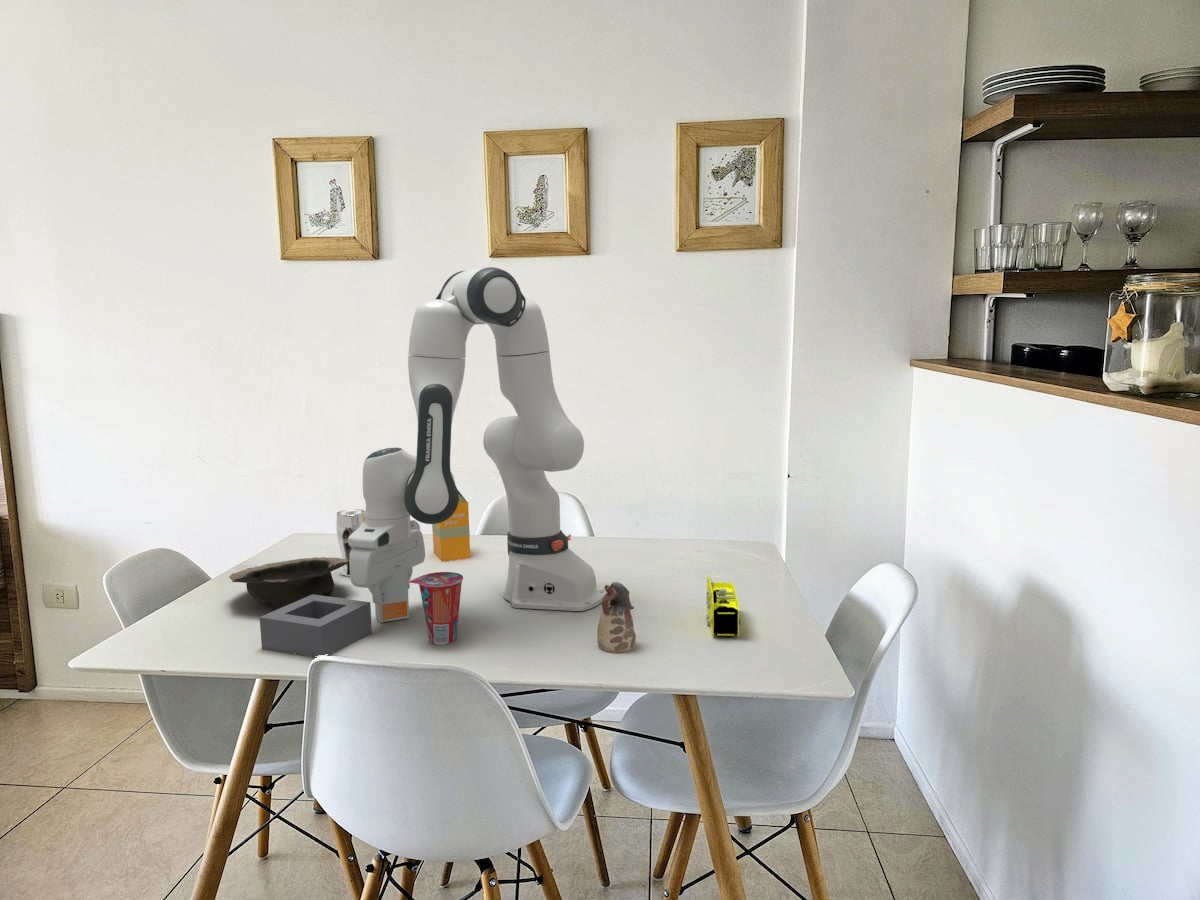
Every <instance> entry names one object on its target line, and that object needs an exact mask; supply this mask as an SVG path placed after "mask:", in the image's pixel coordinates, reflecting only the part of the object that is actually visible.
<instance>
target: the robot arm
mask: <svg viewBox="0 0 1200 900" xmlns="http://www.w3.org/2000/svg"><path fill="white" fill-rule="evenodd" d="M412 319H413V320H412V324H411V329H410V335H409V343H408V358H407V359H408V360H407V365H408V367H407V368H408V379H409V386H410V392H411V395H412V400H413V403H414V407H415V411H416V417H417V440H416V442H417V444H416V456H415V455H412V454H411V453H409V452H407V451H406V450H404V449H403V448H402V447H388V448H383V449H379V450H376V451H373V452H372V453H370V454H369V455H368V456H367V457H366V458H365V460H364V461H363V466H362V494H363V499H364V501H365V510H364V511H365V514H364V517H365V522H363V523H362V524H361V526H360V527H359V528H358V529H357V530H356V531H355V532H353V533H352V534H351V535H350V536H349V538H348V544H349V546H351V547H353V548H352V550H351V552H350V556H349V566H350V582H351V584H352V585H353V586H354V587H356V588H363V589H367V588H368V590H369V592H370V593H371V595H372V603H373V604H375V603H376V604H380V603H382V602H383V601H384V600H385V598H384V593H381V591H380V589H379V587H381V581H383V580H386V579H388V578H390V577H392V576H394V573H395V570H394V563H396V562H398V561H400V560H403V559H405V560H406V561H407V574H408V590H410V587H411V585H410V584H411V583H409V582H410V581H411V577H412V575H413V572H414V571H413V567H416V566H417V565H420V564H422V563H423V562H424V561H425V558H426V548H425V541H424V536H423V535H424V534H423V533H422V531H421V526H420V524H419V523H421V524H426V525H432V524H437V523H441V522H443V521H445V520H447V519H448V518H450V517H451V516H452V515H453V513H454V512H455V510H456V508H457V506H458V502H459V495H458V491H459V489H458V488H457V486H456V481H455V477H454V475H453V473H452V470H451V469H452V468H451V446H452V443H451V442H452V427H453V426H452V423H453V419H454V415H455V411H456V407H457V404H458V400H459V398H460V394H461V390H462V386H463V383H464V375H465V369H466V351H467V349H466V348H467V347H466V346H467V345H466V344H467V341H468V340H467V339H468V336H469V333H470V331H471V330H472V328H473V327H474V326H475V325H485V324H486V325H487V326H488V327H489V328H490V330H491V331H492V335H493V337H494V340H495V342H494V343H495V353H496V354H495V355H496V362H497V363H496V364H497V371H498V381H499V387H500V388H499V389H500V391H501V393H502V396H503V397H504V398H505V399H506V400H508V401H509V402H510V404H511V405H512V407H513V409H514V411H515V413H516V415H508V416H502V417H499V418H496V419H493V420H492V421H490V423H488V425H487V426H486V428H485V429H484V433H483V436H482V437H483V439H482V441H483V443H482V444H483V448H484V451H485V453H486V455H487V456H488V457H489V458H490V459H491V460H492V461H493V463H494V464H495V466H496V468H497V471H498V472H499V475H500V477H501V481H502V483H503V486H504V490H505V495H506V499H507V510H508V512H507V514H508V532H507V533H506V534H507V538H506V539H507V554H508V558H509V559H508V568H507V569H508V570H507V577H506V584H505V589H504V592H503V598H504V599H505V600H507V602H510V603H511V606H512V607H513V608H514V609H516V608H517V609H531V610H533V609H534V610H551V611H565V612H566V611H567V612H583V611H587V610H589V609H593V608H594V607H597V606H598V605H600V604H602V601H603V598H604V596H605V595H606V594H607V592H606V590H605V589H604V587H602V586H597V578H596V575H595V571H594V569H593V567H592V566H591V565H590V564H589V563H588V562H586V561H584V559H582V558H581V557H580V556H579V555H577V553H575V552H574V551H572V549H570V548H569V541H571V540H572V538H571V537H572V534H568V535H566V534H565V533H564V532H563V531H562V529H561V507H560V506H561V504H560V503H561V502H560V495H559V494H558V491H557V490H556V489H555V488H554V486H552V485H551V484H550V482H549V481H548V478H547V476H546V474H545V472H547V473H548V472H550V473H553V472H554V473H555V472H562V471H563V472H564V471H568V470H569V471H570V470H571V469H574V468H575V467H576V466H577V465H579V463H580V461H581V460H582V458H583V455H584V452H585V441H584V437H583V434H582V432H581V431H580V429H579V428H578V427H577V426H576V425H575V424H574V423H573V422H572V421H571V420H570V419H569V417H568V416H567V414H566V413H565V411H564V408H563V406H562V404H561V402H560V400H559V398H558V395H557V391H556V387H555V384H554V378H553V371H552V370H553V369H552V361H551V354H550V343H549V338H548V331H547V327H546V323H545V319H544V315H543V313H542V309H541V307H540V305H539V304H537V302H535V301H534V300H531V299H530V298H529V299H528V298H525V296H524V294H523V293H522V290H521V287H520V285H519V284H518V282H517V280H516V279H515V277H514V276H512V274H510V273H509V272H508V271H506V270H504V269H502V268H499V267H494V266H493V267H492V266H491V267H490V266H489V267H483V266H482V267H481V266H478V267H477V266H476V267H472V268H469V269H466V270H460V271H457V272H455V273H453V274H452V275H451V276H449V277H448V278H447V279H446V281H445V282H444V284H443V285H442V287H441V290H440V291H439V293H438V295H437V296H436V298H435V299H429V300H426V301H423V302H422V303H420V304H419V305H418V307H416V309H415V312H414V315H413V318H412ZM457 489H458V490H457ZM411 517H412V518H413V519H412V520H411Z"/></svg>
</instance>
